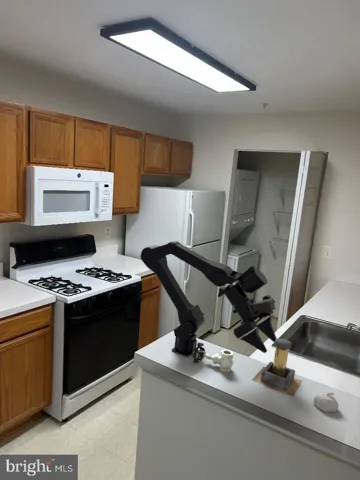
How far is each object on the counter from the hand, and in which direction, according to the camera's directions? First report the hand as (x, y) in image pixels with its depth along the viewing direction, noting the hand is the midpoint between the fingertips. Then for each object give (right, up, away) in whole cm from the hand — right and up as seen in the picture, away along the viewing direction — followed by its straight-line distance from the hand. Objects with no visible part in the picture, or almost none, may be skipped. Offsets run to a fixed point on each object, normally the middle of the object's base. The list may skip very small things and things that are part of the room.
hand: (271, 346), depth 103 cm
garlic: (+11, -14, -11) cm, 21 cm away
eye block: (+2, -11, 0) cm, 11 cm away
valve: (-17, -8, +5) cm, 19 cm away
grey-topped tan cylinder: (+2, -10, 0) cm, 10 cm away
